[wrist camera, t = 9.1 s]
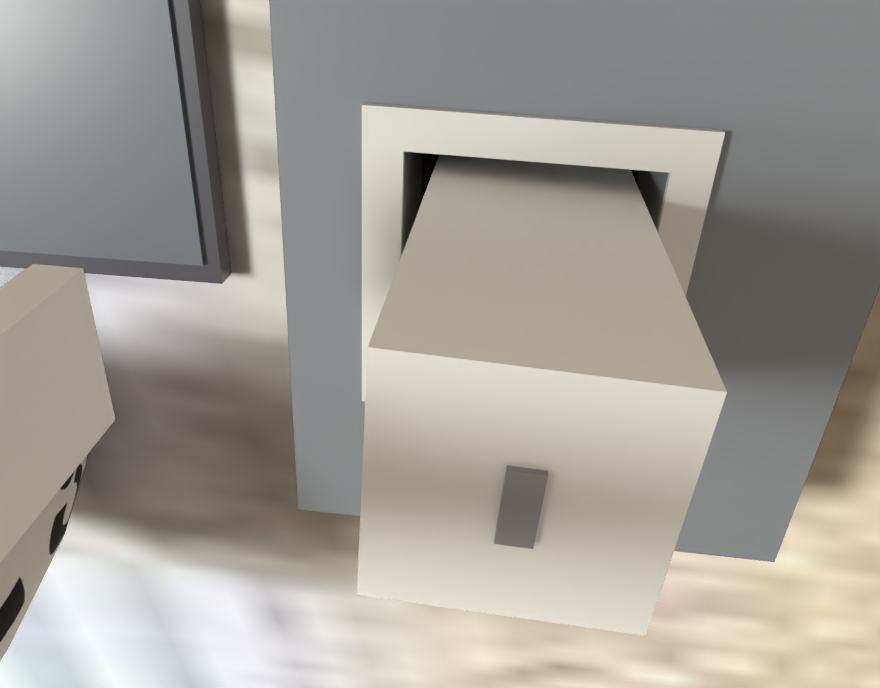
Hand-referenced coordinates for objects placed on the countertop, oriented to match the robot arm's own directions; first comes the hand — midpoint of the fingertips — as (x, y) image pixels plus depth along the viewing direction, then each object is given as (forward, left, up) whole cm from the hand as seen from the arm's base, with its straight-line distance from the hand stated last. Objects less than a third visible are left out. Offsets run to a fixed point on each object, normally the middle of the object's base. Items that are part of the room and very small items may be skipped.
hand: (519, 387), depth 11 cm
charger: (0, 0, -8) cm, 8 cm away
